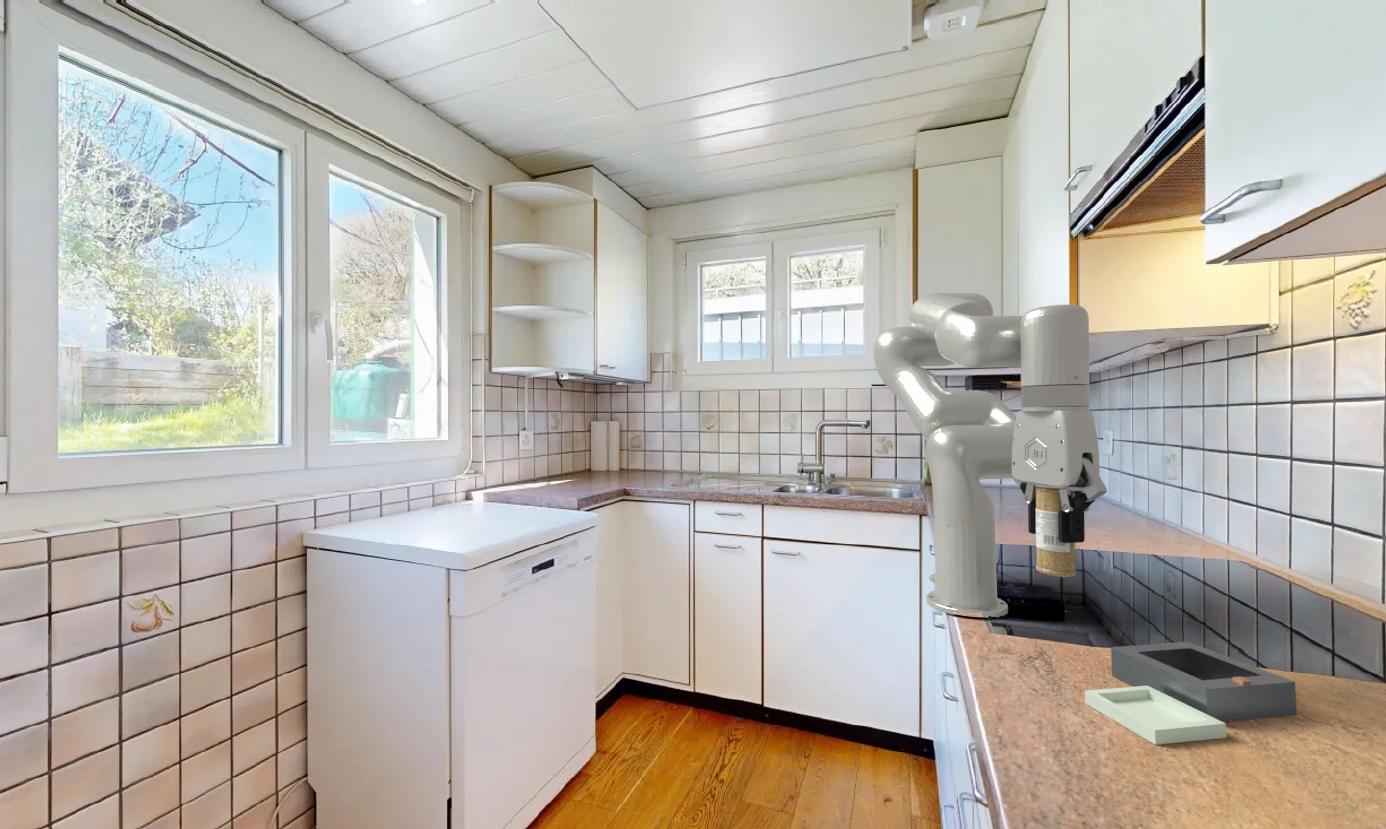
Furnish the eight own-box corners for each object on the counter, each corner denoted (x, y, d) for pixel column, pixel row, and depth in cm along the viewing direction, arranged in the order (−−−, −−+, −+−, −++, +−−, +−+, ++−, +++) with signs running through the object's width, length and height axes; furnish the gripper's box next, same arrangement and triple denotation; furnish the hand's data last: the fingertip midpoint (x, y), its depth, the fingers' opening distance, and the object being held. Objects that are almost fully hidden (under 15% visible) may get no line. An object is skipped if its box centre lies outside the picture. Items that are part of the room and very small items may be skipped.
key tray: (1085, 703, 60) (1084, 690, 60) (1147, 698, 61) (1147, 685, 61) (1155, 744, 52) (1154, 730, 52) (1226, 737, 53) (1225, 723, 53)
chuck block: (1112, 675, 66) (1110, 644, 67) (1188, 669, 68) (1187, 639, 68) (1207, 723, 56) (1206, 686, 56) (1296, 715, 57) (1295, 679, 57)
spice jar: (1082, 574, 70) (1081, 472, 70) (1067, 580, 68) (1066, 474, 68) (1044, 566, 74) (1043, 469, 74) (1028, 571, 71) (1027, 471, 71)
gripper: (985, 401, 79) (986, 525, 79) (1083, 398, 62) (1084, 555, 62) (1031, 401, 80) (1032, 523, 80) (1140, 398, 63) (1141, 552, 63)
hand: (1055, 536), depth 71 cm, fingers closed on spice jar, 4 cm apart
